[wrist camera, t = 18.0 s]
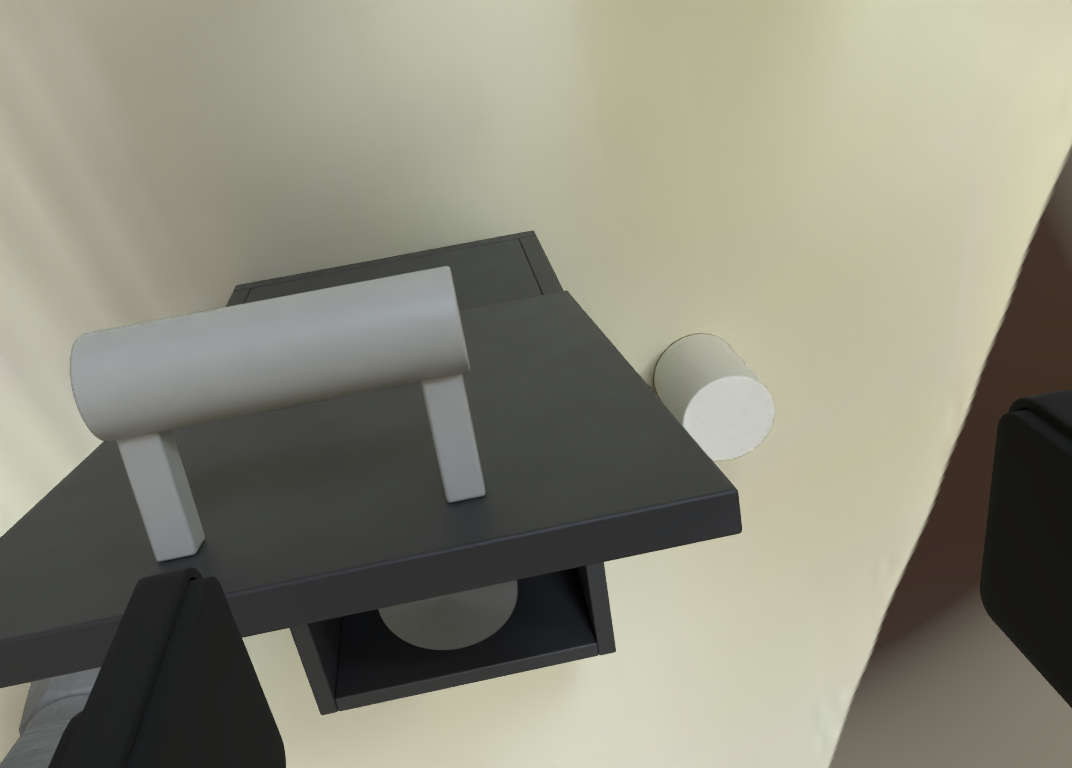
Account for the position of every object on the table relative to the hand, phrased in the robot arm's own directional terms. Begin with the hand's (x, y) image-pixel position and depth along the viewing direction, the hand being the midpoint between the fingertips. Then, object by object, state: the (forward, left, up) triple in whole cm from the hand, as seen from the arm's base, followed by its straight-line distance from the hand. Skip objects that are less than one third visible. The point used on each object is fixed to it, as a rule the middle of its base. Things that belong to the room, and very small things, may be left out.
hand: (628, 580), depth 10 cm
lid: (+5, -2, -12) cm, 13 cm away
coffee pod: (+7, +15, -30) cm, 35 cm away
